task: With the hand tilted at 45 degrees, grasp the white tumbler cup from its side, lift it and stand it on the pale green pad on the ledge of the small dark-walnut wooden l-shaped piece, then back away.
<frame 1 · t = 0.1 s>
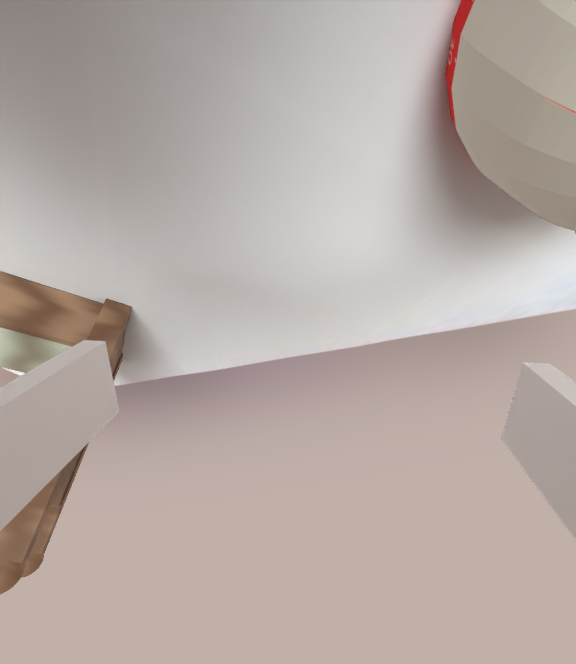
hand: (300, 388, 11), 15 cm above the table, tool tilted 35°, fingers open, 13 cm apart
wooden l-shaped piece: (53, 316, 38), on the table
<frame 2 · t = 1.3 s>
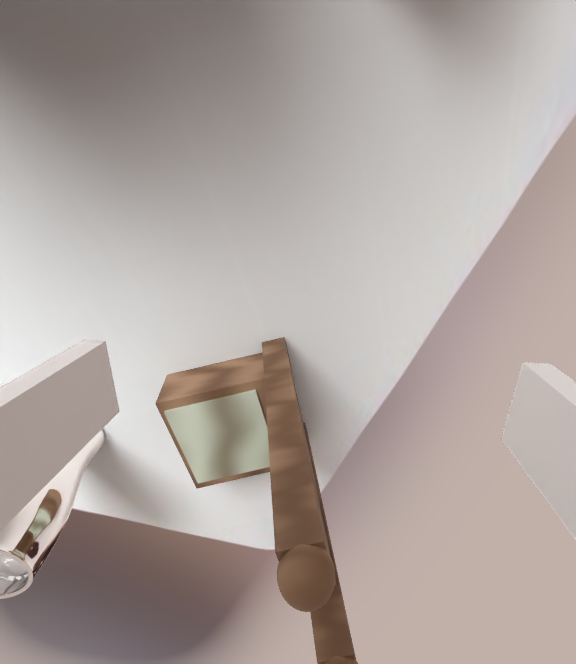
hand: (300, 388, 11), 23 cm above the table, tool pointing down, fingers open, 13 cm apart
wooden l-shaped piece: (232, 406, 39), on the table
white tumbler cup: (77, 433, 39), on the table
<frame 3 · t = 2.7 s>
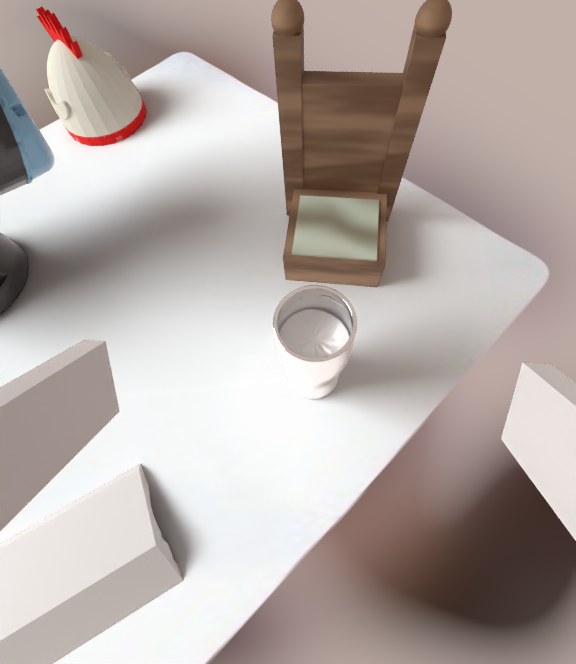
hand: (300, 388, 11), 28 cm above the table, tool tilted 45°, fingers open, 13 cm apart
kitchen timer: (108, 119, 60), on the table
wooden l-shaped piece: (333, 248, 47), on the table
crown molding: (29, 598, 34), on the table
white tumbler cup: (312, 374, 40), on the table
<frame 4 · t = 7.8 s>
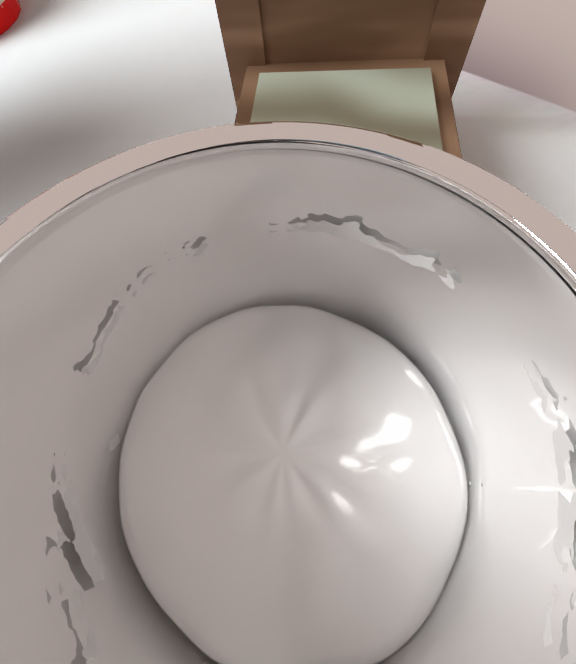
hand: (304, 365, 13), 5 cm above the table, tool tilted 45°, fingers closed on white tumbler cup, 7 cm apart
wooden l-shaped piece: (336, 191, 23), on the table
white tumbler cup: (302, 473, 16), on the table, touching gripper
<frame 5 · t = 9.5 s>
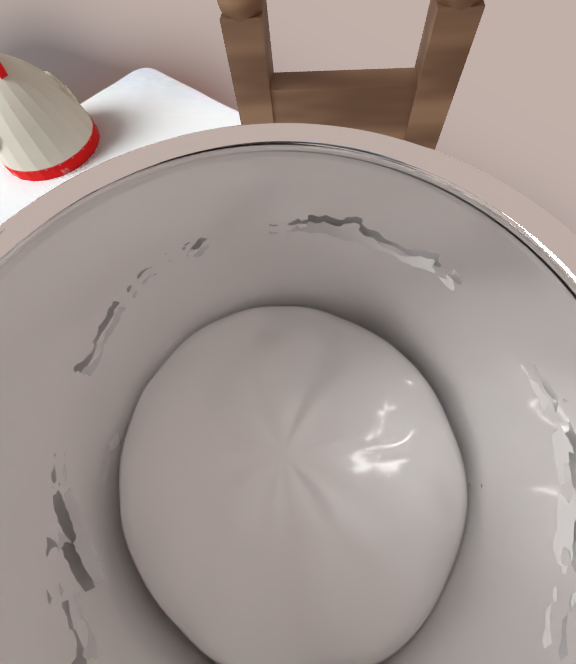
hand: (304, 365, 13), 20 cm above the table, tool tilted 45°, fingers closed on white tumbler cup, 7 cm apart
kitchen timer: (54, 148, 51), on the table
wooden l-shaped piece: (329, 298, 36), on the table
white tumbler cup: (302, 473, 16), point 14 cm above the table, touching gripper
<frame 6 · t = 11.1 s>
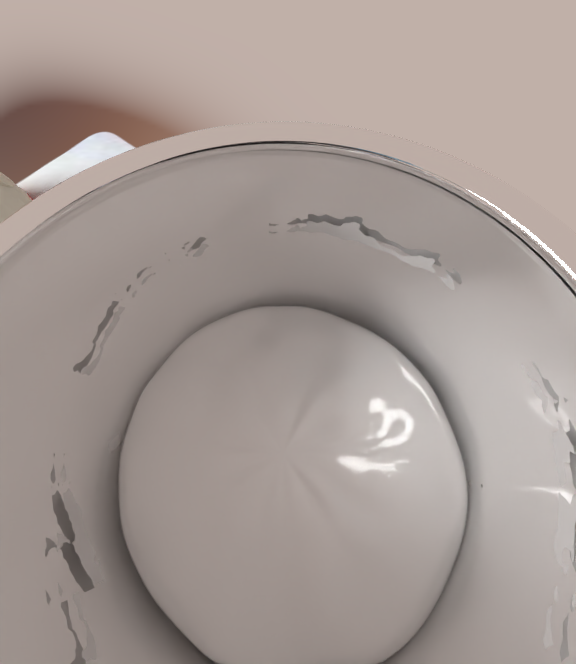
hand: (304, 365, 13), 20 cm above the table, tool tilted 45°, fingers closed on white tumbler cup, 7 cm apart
white tumbler cup: (302, 473, 16), point 14 cm above the table, touching gripper
when the fingers open (12 cm above the table, at t = 12.6 s): white tumbler cup drops 2 cm, resting on wooden l-shaped piece.
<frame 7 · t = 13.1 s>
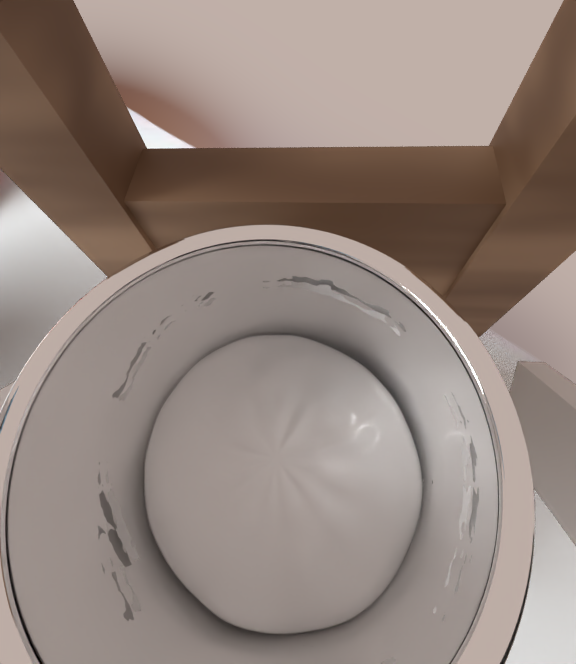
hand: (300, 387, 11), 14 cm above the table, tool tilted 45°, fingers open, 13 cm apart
wooden l-shaped piece: (306, 468, 23), on the table
white tumbler cup: (298, 473, 18), point 5 cm above the table, touching wooden l-shaped piece
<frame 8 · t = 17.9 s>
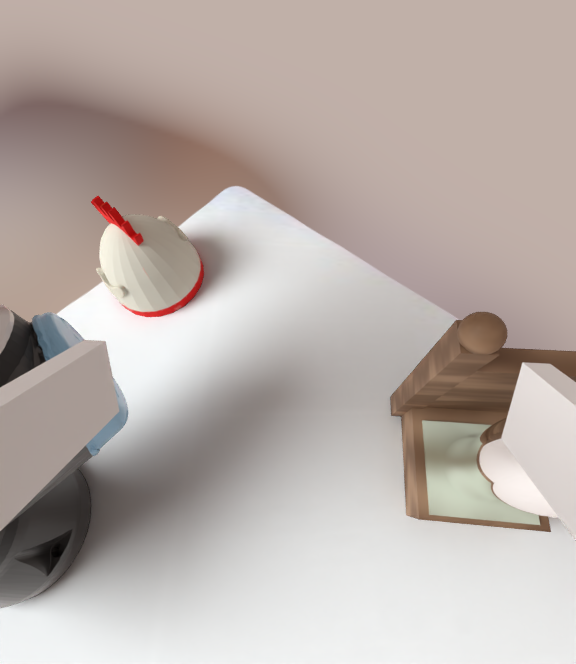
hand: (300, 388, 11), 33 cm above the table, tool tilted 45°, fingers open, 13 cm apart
kitchen timer: (160, 278, 53), on the table
wooden l-shaped piece: (457, 466, 39), on the table
white tumbler cup: (473, 468, 34), point 5 cm above the table, touching wooden l-shaped piece
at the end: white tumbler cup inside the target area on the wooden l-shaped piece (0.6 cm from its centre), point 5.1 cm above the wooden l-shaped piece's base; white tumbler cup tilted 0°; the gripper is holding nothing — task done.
